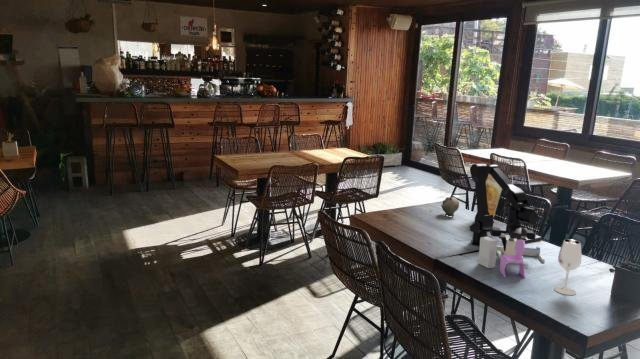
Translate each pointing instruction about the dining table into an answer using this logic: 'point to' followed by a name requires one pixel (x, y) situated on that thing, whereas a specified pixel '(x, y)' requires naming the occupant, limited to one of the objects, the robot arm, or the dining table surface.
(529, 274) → the dining table surface
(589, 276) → the dining table surface
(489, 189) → the pancake mix bag
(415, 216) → the dining table surface
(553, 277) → the dining table surface
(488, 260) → the skincare box
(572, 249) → the wineglass
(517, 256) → the toy chair
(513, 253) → the cream rectangular block
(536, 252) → the white post rack
